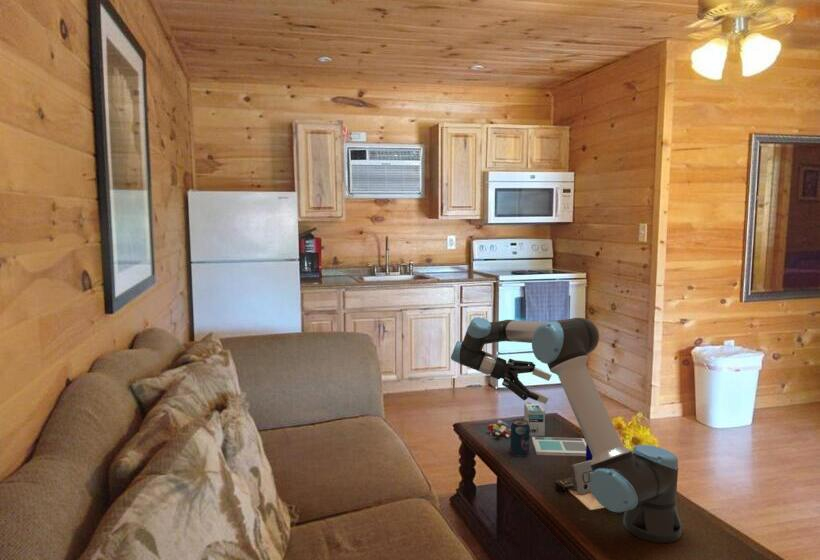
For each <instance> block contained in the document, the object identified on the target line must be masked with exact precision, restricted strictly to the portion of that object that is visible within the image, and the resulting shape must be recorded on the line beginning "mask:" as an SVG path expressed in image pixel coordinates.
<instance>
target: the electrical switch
mask: <svg viewBox="0 0 820 560" xmlns="http://www.w3.org/2000/svg"><path fill="white" fill-rule="evenodd" d="M590 463H591V460H589V461H586V460H585V461H582V462H578V463H574V464H573V463H572V464H569V470H570V475H571V476H570V477H571V481H572V487H574V489H575V490H574V489H573V490H574V491H577V494H578V495H583V494H587V493H592V491H591V488H590V481H591V480H590V476H591V474H592V473H593V470H592V468H591V466H590Z"/></svg>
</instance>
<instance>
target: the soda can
mask: <svg viewBox="0 0 820 560" xmlns="http://www.w3.org/2000/svg"><path fill="white" fill-rule="evenodd" d="M510 430H511V435H510V448H509V449H510V451H511V453H512V454H513V455H514V456H515V457H525V456H526V457H527V455H528V454H529V452H530V443H531V442H530V440H531V439H530V438H531V436H530V426H529V424H528V422H527V421H526V420H524V419H514V420H512V423H511V425H510Z"/></svg>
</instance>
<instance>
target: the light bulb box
mask: <svg viewBox="0 0 820 560" xmlns="http://www.w3.org/2000/svg"><path fill="white" fill-rule="evenodd" d="M523 403H524V405H523V407H524V408H523V410H524V411H523V412H524V413H523V415H524V416H523V417H524V418H523V420H526V421H527V422H528V424H529V426H530V437H546V436H545V435H546V431H545V430H546V429H545V427H546V410H545V409H544V407H543V406H542V404H541V402H539V401H537V402H536V401H534V402H532V401H524V402H523Z"/></svg>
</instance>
